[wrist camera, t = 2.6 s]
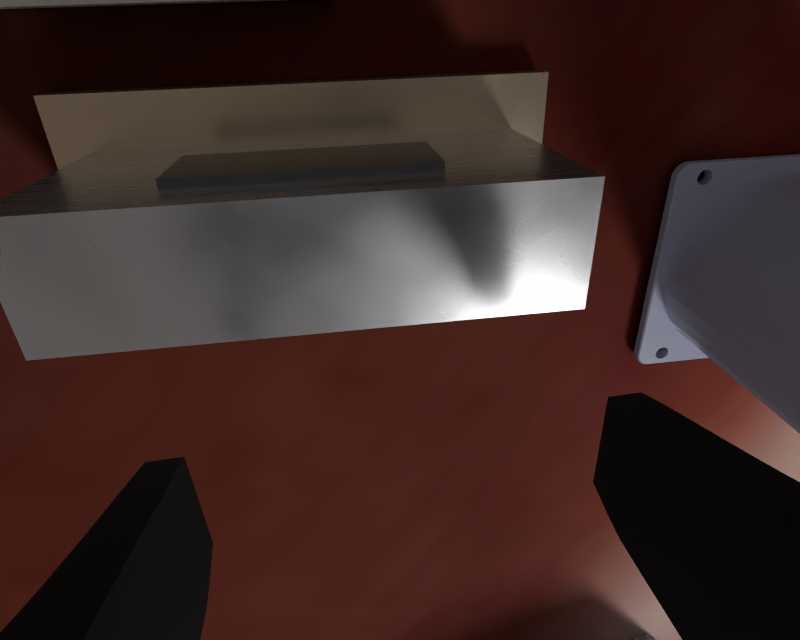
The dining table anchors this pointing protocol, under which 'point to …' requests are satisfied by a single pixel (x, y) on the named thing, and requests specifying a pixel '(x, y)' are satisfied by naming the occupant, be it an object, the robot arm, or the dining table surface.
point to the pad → (100, 3)
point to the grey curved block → (644, 637)
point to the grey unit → (293, 212)
